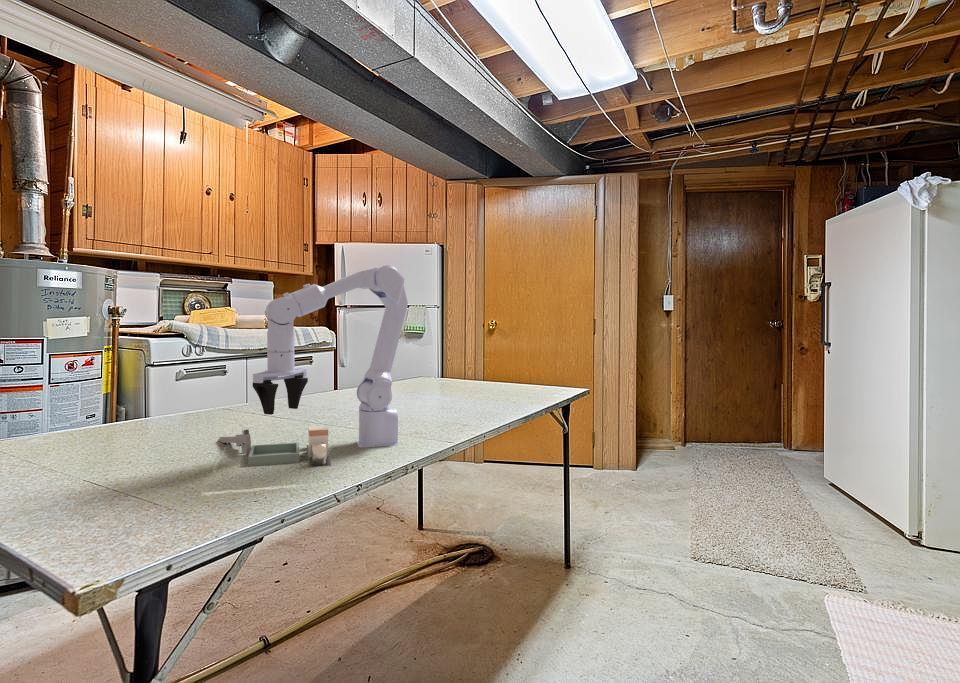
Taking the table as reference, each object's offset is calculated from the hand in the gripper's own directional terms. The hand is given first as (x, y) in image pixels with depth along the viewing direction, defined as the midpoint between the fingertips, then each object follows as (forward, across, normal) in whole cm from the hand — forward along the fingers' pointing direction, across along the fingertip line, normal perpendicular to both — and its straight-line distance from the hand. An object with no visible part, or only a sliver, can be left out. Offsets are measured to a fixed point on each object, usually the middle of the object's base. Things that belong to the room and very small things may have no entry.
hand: (281, 411), depth 117 cm
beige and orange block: (+9, -2, +9) cm, 13 cm away
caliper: (+10, +1, -14) cm, 17 cm away
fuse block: (+10, -2, +9) cm, 13 cm away
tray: (+10, +4, +2) cm, 11 cm away
